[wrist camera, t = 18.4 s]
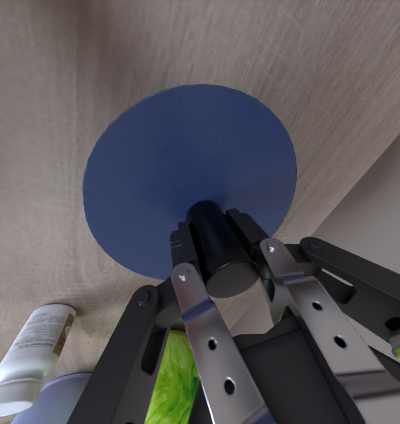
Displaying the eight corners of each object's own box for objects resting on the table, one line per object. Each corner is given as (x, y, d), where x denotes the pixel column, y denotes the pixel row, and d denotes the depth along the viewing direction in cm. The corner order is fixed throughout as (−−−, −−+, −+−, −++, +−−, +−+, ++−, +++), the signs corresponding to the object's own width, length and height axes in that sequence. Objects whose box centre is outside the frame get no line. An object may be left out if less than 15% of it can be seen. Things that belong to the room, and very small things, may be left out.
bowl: (39, 404, 33) (2, 497, 25) (1, 382, 25) (-72, 507, 17) (121, 382, 37) (112, 454, 29) (112, 357, 29) (95, 447, 21)
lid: (19, 113, 8) (-380, 113, 2) (309, 67, 10) (535, -1, 4) (139, 288, 17) (131, 377, 11) (274, 247, 19) (325, 306, 13)
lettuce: (115, 309, 21) (-9, 525, 13) (253, 375, 20) (211, 672, 11) (141, 304, 36) (91, 404, 28) (222, 341, 34) (193, 460, 26)
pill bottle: (69, 323, 21) (32, 413, 15) (28, 320, 19) (-38, 424, 13) (82, 305, 20) (47, 395, 13) (39, 300, 18) (-27, 404, 11)
